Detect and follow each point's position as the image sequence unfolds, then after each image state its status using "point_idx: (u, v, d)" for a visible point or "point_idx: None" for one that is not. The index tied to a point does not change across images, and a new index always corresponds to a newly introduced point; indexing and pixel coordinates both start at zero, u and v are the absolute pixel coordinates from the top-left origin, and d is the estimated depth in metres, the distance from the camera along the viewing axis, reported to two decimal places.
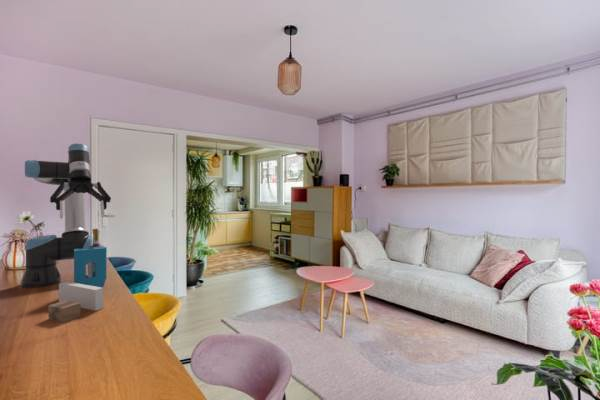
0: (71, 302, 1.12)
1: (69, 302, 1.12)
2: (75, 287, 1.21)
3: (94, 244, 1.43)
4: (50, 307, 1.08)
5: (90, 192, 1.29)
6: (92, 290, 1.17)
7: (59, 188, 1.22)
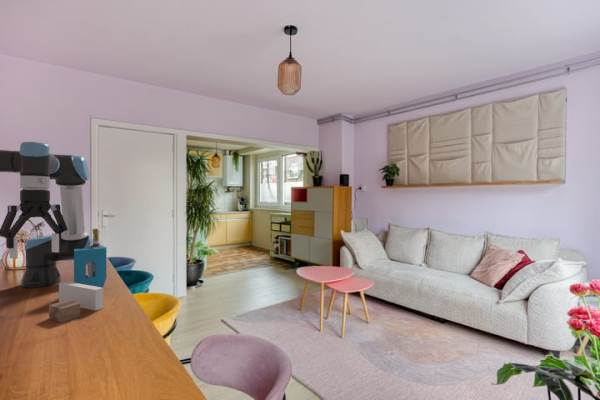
0: (71, 302, 1.12)
1: (69, 302, 1.12)
2: (75, 287, 1.21)
3: (94, 244, 1.43)
4: (50, 307, 1.08)
5: (44, 218, 1.04)
6: (92, 290, 1.17)
7: (12, 218, 0.94)
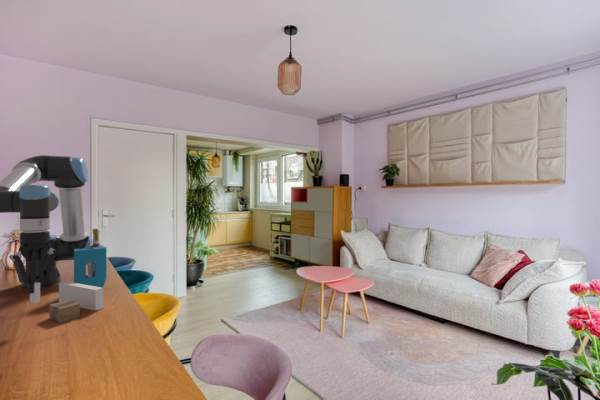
0: (71, 302, 1.12)
1: (69, 302, 1.12)
2: (75, 287, 1.21)
3: (94, 244, 1.43)
4: (51, 307, 1.09)
5: (37, 260, 1.02)
6: (92, 290, 1.17)
7: (21, 266, 0.97)
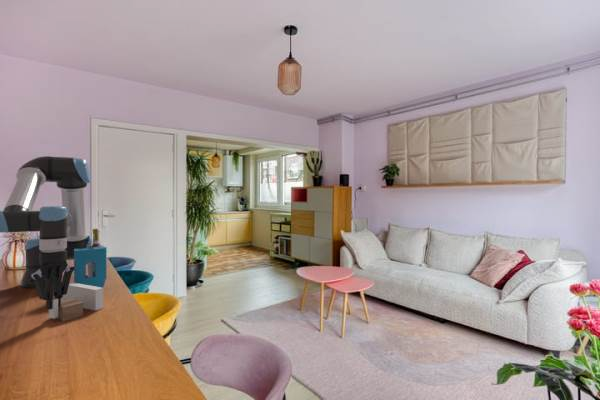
0: (76, 301, 1.13)
1: (74, 300, 1.13)
2: (75, 287, 1.21)
3: (94, 244, 1.43)
4: None
5: (55, 278, 1.07)
6: (92, 290, 1.17)
7: (41, 284, 1.02)
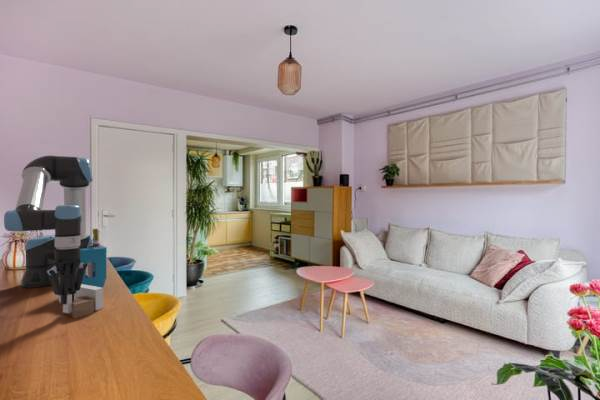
0: (86, 298, 1.15)
1: (85, 298, 1.16)
2: None
3: (94, 244, 1.43)
4: None
5: (69, 274, 1.11)
6: (92, 290, 1.17)
7: (56, 280, 1.06)
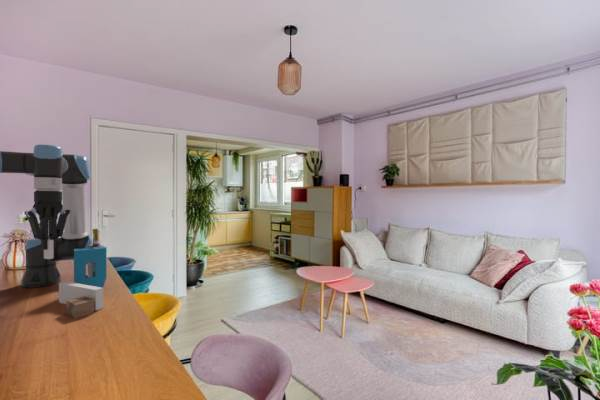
0: (86, 299, 1.16)
1: (85, 298, 1.16)
2: (75, 287, 1.21)
3: (94, 244, 1.43)
4: (67, 302, 1.13)
5: (50, 219, 1.06)
6: (92, 290, 1.17)
7: (36, 222, 1.01)
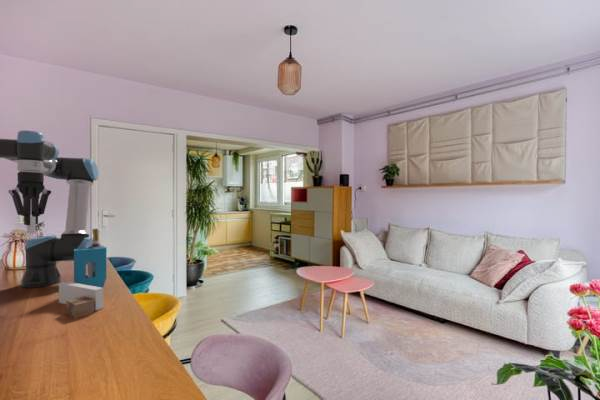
0: (86, 299, 1.16)
1: (85, 298, 1.16)
2: (75, 287, 1.21)
3: (94, 244, 1.43)
4: (67, 302, 1.13)
5: (32, 198, 1.17)
6: (92, 290, 1.17)
7: (19, 200, 1.12)
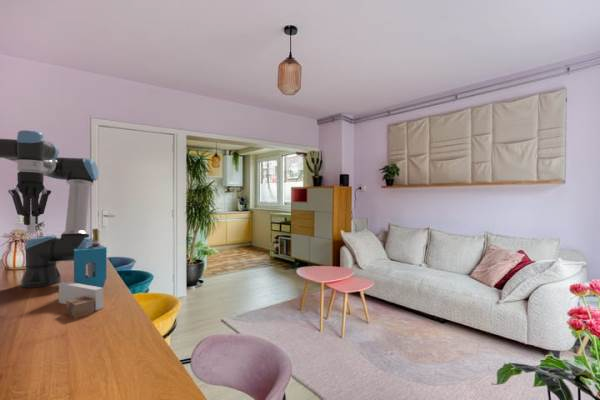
0: (86, 299, 1.16)
1: (85, 298, 1.16)
2: (75, 287, 1.21)
3: (94, 244, 1.43)
4: (67, 302, 1.13)
5: (32, 198, 1.17)
6: (92, 290, 1.17)
7: (19, 200, 1.12)
